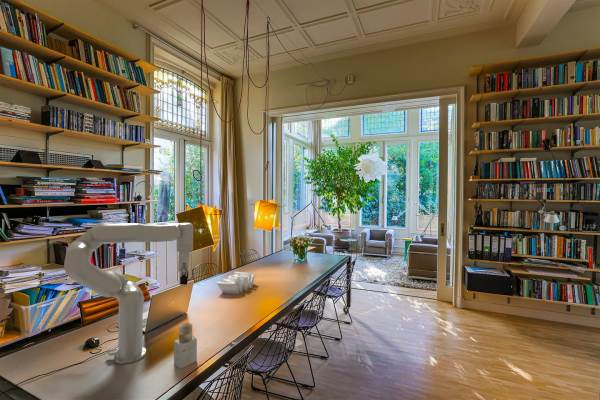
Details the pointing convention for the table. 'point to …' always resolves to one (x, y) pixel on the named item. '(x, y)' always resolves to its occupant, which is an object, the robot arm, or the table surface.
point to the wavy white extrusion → (236, 283)
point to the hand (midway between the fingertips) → (184, 281)
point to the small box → (185, 352)
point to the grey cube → (185, 332)
